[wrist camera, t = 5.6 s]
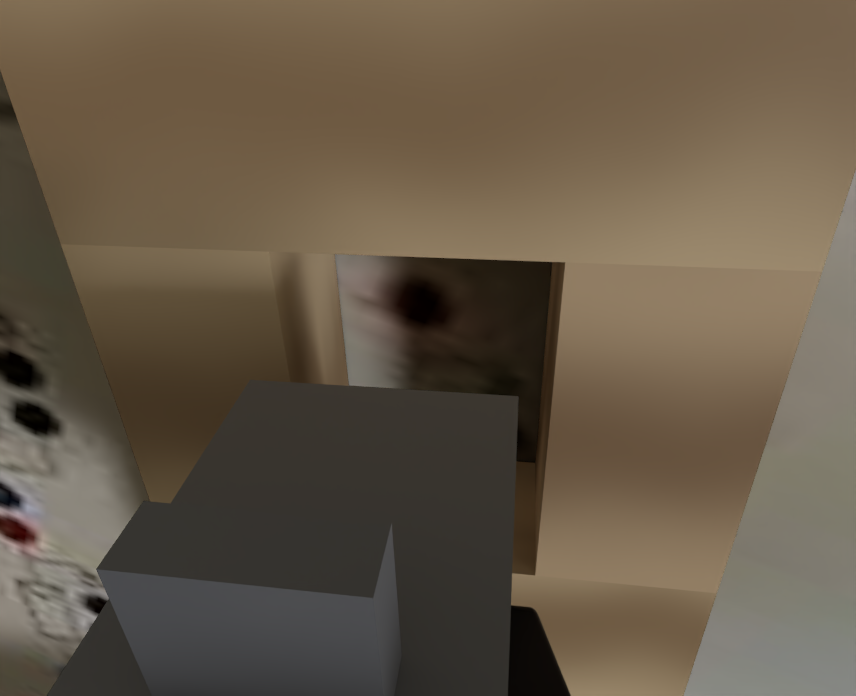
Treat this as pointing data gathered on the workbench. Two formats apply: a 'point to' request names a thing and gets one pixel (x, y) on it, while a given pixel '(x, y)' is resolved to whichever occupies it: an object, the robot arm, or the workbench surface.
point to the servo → (319, 554)
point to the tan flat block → (467, 241)
